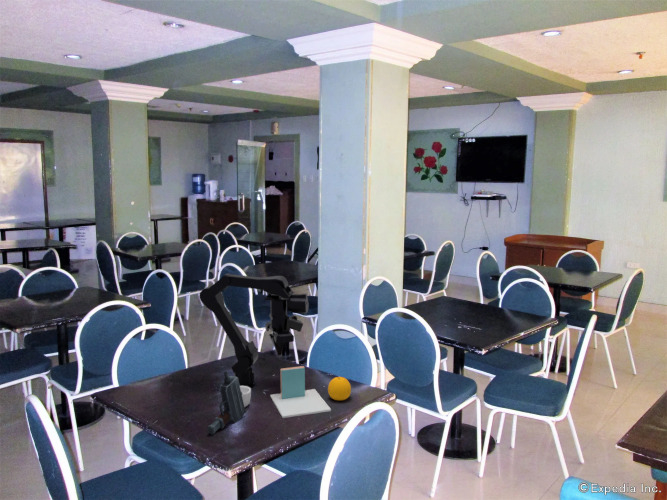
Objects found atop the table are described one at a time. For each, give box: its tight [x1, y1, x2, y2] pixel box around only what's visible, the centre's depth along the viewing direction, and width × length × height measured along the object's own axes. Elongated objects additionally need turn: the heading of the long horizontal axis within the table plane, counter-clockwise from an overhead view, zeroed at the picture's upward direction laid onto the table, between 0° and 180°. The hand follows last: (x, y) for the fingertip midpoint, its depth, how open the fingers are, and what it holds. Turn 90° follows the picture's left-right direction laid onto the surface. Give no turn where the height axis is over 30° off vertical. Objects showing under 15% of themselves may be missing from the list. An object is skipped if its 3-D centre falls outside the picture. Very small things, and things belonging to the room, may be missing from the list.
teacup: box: [240, 386, 252, 408], centre depth 177 cm, size 10×8×5 cm
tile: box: [279, 365, 306, 399], centre depth 184 cm, size 8×2×10 cm, turn 109°
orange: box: [327, 376, 352, 401], centre depth 184 cm, size 8×8×8 cm
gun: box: [207, 370, 248, 436], centre depth 162 cm, size 3×17×15 cm
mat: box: [269, 388, 332, 419], centre depth 180 cm, size 16×18×1 cm
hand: (279, 355), depth 193 cm, fingers closed
